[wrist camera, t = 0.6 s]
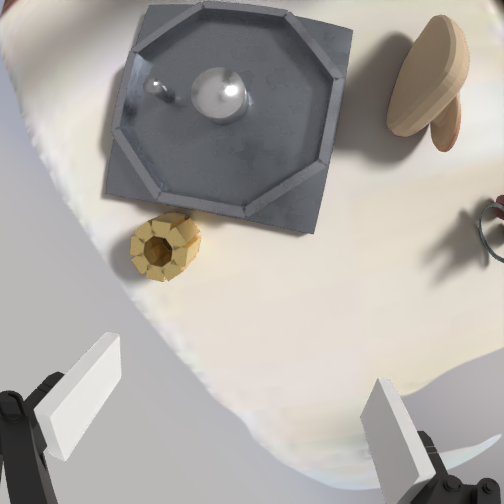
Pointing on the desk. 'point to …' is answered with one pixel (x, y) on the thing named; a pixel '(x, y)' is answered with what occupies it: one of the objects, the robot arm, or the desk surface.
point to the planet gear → (156, 253)
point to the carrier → (230, 112)
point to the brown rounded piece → (431, 84)
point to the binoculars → (503, 212)
